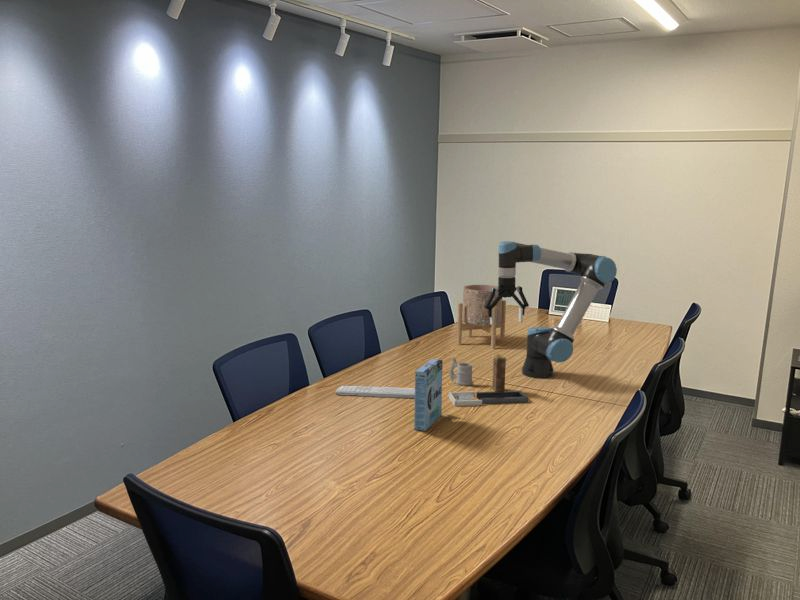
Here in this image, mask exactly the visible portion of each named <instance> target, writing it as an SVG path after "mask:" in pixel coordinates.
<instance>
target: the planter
mask: <svg viewBox="0 0 800 600" xmlns="http://www.w3.org/2000/svg"><path fill="white" fill-rule="evenodd" d="M492 287H493V288H498V285H491V284H468V285H464V286H463V293H462V294H463V297H462V302H457V303H458V304H457V306H458V307H457V330H456V331H457V334H456V335H457V336H456V344H457V345H459V346H460V345H462V333H463V331H467V338H472V337H473V335H472V334H473V331H475V330H482V331H484V332H487V333H488V334H491V335H490V336H491V337H490V349H491V350H492V349H493V350H495V349H496V339H497V329H499V328H500V333H499V336H500V337H499V341H500V342H504V341H505V333H506V312H507V311H506V310H507V300H505V299H503V297H502V298H501V299H500V300H499V302H498V303H497V304H496V305H495V307H494V308H493V309H492V310H494V325H492V324H490V317H489V316H488V309H486V308H484V306H485V303H486V301H487V299H488V297H489V295H490V293H491V288H492ZM498 293H499V292H498V291H497V292H496V293H495V295H494V297H493V300H494V299H495V298H496V297H497V295H498ZM493 300H492V302H493ZM492 302H491V303H492Z"/></svg>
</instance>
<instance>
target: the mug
mask: <svg viewBox="0 0 800 600" xmlns="http://www.w3.org/2000/svg"><path fill="white" fill-rule="evenodd" d="M455 367H457V369H456V373H457V374H455V373H454V369H455ZM449 378H450V381H454V380H455V379H456V380H455V383H456V386H457V387H469V386H473V383H474V382H473V364H471V363H470V362H459V363H457V360H456V358H455V357H453V358H452V362H451V365H450V368H449Z"/></svg>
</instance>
